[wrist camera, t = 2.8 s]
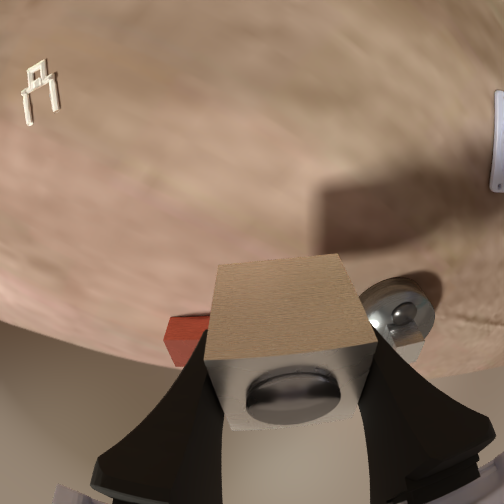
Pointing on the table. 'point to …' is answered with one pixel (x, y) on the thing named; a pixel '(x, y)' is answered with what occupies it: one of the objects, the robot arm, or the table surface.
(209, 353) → the cube block
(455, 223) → the table surface
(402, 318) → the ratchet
